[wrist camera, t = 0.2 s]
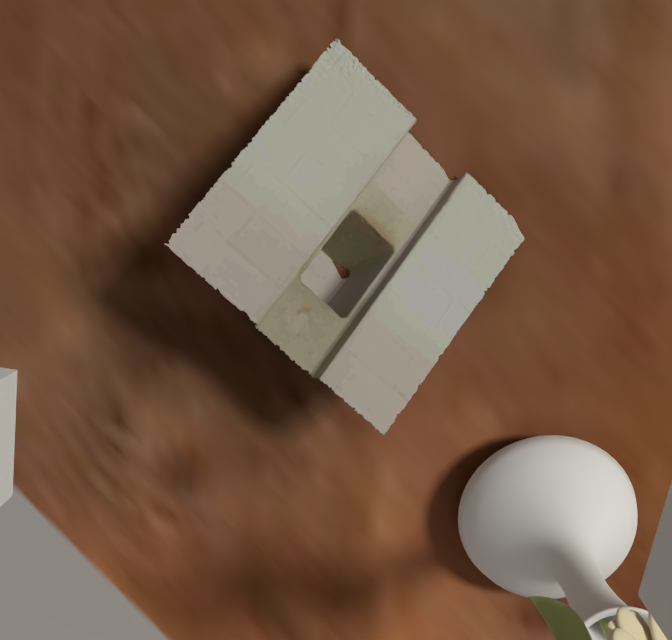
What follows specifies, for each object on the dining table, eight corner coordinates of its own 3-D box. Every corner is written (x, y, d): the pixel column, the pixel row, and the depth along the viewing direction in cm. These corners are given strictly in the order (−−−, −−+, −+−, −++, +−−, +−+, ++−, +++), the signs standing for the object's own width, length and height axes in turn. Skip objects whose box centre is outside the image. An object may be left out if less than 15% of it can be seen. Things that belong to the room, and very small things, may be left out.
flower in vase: (659, 520, 43) (1056, 979, 18) (517, 608, 45) (705, 1130, 20) (549, 371, 41) (830, 665, 16) (405, 471, 43) (465, 866, 18)
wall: (266, 107, 42) (122, 268, 34) (335, 27, 34) (170, 209, 27) (436, 273, 46) (341, 446, 39) (528, 233, 39) (432, 435, 32)
